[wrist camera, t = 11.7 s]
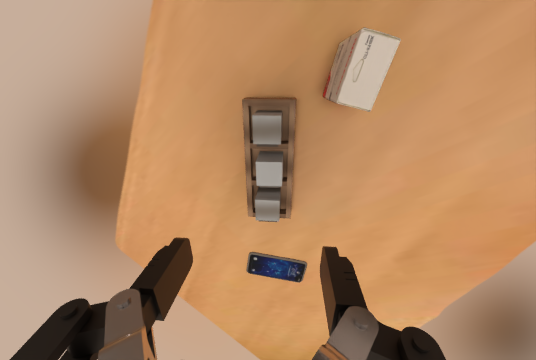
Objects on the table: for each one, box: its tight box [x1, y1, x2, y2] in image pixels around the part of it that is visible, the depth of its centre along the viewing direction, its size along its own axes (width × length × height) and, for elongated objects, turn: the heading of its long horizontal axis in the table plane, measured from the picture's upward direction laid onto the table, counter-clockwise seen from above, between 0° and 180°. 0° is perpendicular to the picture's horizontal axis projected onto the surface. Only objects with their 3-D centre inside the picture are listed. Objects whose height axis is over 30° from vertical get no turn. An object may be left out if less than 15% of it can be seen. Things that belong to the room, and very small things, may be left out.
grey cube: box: [256, 151, 283, 188], centre depth 41 cm, size 5×4×6 cm
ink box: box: [323, 28, 401, 112], centre depth 32 cm, size 8×5×12 cm, turn 167°
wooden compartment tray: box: [242, 98, 296, 222], centre depth 41 cm, size 24×9×8 cm, turn 0°
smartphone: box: [247, 252, 307, 282], centre depth 57 cm, size 7×1×15 cm
